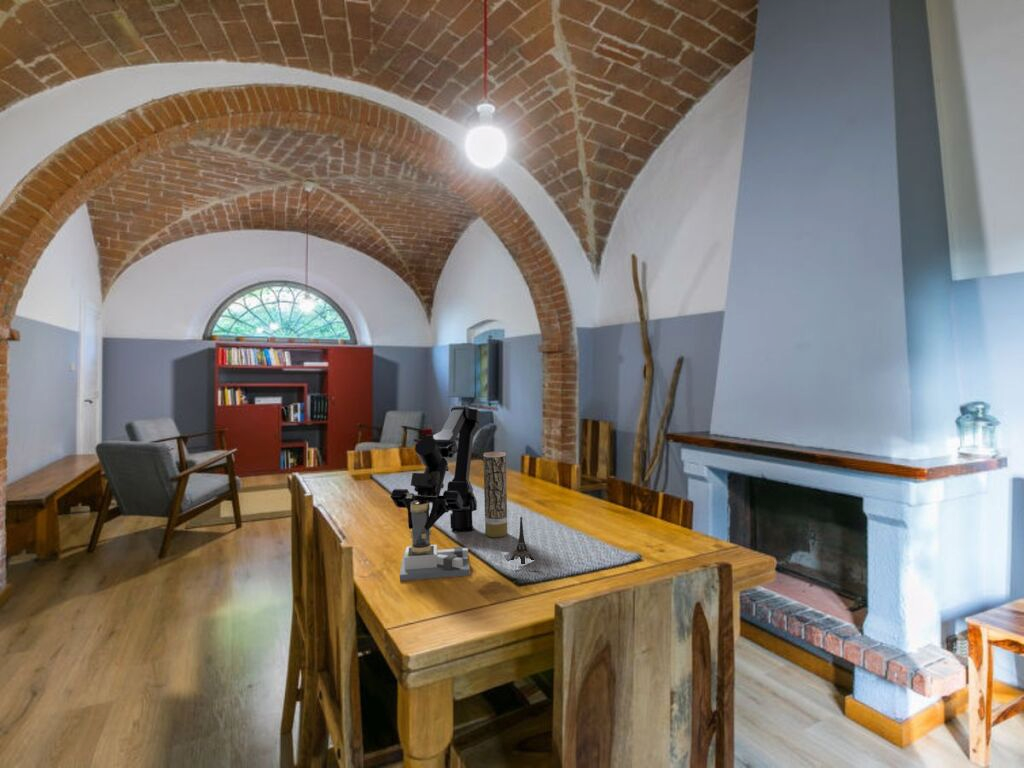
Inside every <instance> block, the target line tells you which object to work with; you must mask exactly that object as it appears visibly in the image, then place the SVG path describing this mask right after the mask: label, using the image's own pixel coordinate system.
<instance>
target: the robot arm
mask: <svg viewBox="0 0 1024 768" xmlns="http://www.w3.org/2000/svg"><path fill="white" fill-rule="evenodd" d="M482 415H483V414H482V413H481V412H480V410H479V409H478V408H471V407H468V406H466V405H455V406H452V407H451V410H450V414H449V416H448V418H447V420H446V421H445V423H444V425H443V427H442V429H441V430H440V431H438V432H436V433H434V435H432V434H426V435H425V437H424V438H422V439H420V440H419V441H418V442H417V443H416V444H415V448H414V450H415V453H416V454H417V457H418V458H419V460H420V463H422V464H421V465H423V466H424V467H425V468H424V472H412V474H411V481H410V486H413V487H414V491H415V492H416V494H414V493H413V492H410V491H409V490H408V488H394V489H393V490H392V491H391V494H390V499H391V500H392V502H393V503H394V504H395V506H396V507H397V508H401V509H402V508H403V509H407V510H406V511H407V521H408V522H407V523H408V529H409V530H412V513H411V506H410V503H411V502H413V501H417V500H427V501H429V504H430V503H431V508H430V509H431V510H430V511H429V518H428V521H427V526H426V529H427V530H429V529H431V528H432V527H433V526H434V525H435V523H436V522H437V521H438V520H439V519H440V518H441V517H442V516H443V515H445V514H446V513H449V511H451V513H450V515H449V516H450V517H449V519H450V520H449V521H450V529H451V531H460V532H468V531H469V532H470V531H474V527H473V512H475V511H477V510H478V501H477V498H476V496H475V494H474V488H473V486H472V483H471V481H470V472H471V470H470V469H471V465H472V464H471V462H472V455H473V453H472V452H473V444H474V443H473V442H474V436H475V435H476V433H477V432H478V431H479V429H480V424H481V423H482V420H483V417H482ZM457 438H458V442H457V441H456V439H457ZM457 443H458V444H457ZM455 454H456V459H455V468H454V469H455V470H454V475H453V476H454V478H452V480H451V481H448V483H447V489H446V490H444V488H445V487H444V486H445V485H444V480H445V477H446V473H447V472H448V471H449V465H448V464H449V463H448V461H447V458H448V459H449V458H450V459H451V458H453V457H454V455H455ZM442 489H443V490H444V491H443V493H442V495H441V491H442Z"/></svg>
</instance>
